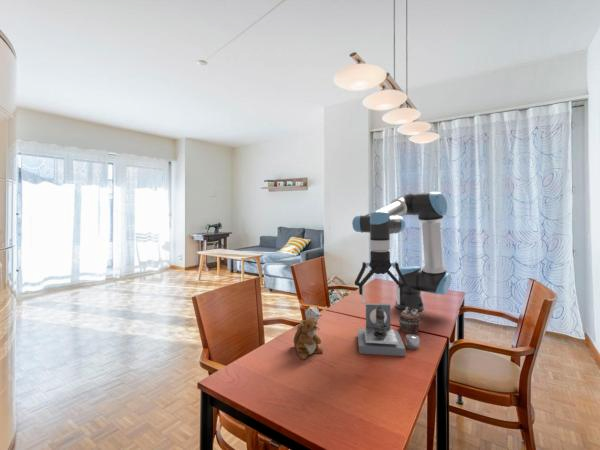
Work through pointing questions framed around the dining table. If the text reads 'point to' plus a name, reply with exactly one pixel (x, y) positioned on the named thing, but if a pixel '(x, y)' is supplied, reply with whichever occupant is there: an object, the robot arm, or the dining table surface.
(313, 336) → the stuffed squirrel
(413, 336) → the spacer
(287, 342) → the dining table surface
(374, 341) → the pan
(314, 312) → the game die
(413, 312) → the cupcake
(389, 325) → the scale base
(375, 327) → the dark grey tall piece
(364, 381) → the dining table surface
